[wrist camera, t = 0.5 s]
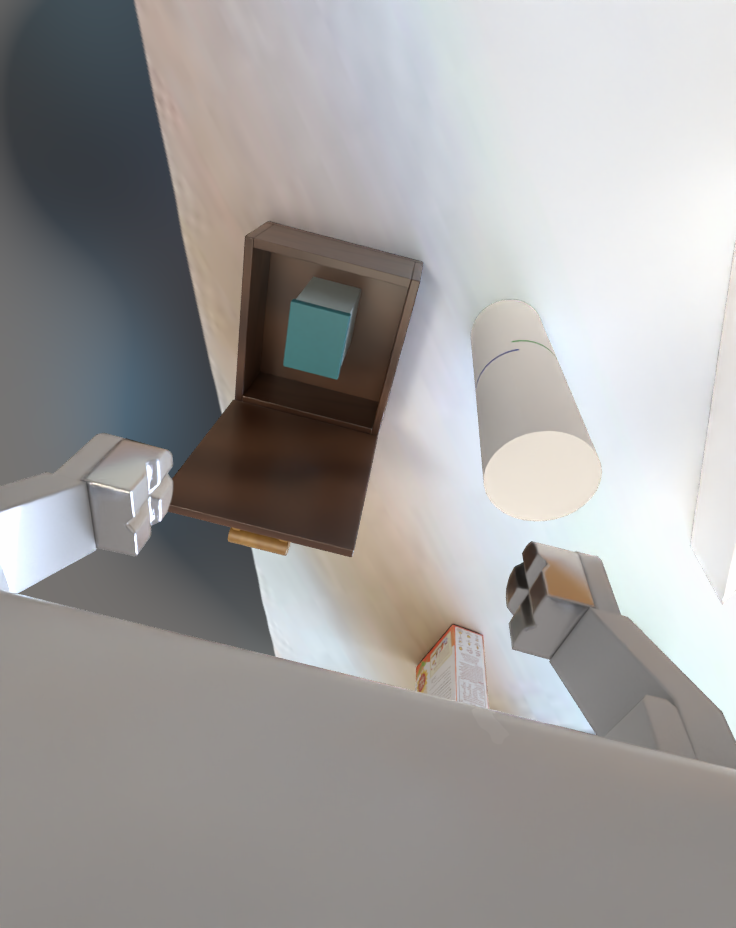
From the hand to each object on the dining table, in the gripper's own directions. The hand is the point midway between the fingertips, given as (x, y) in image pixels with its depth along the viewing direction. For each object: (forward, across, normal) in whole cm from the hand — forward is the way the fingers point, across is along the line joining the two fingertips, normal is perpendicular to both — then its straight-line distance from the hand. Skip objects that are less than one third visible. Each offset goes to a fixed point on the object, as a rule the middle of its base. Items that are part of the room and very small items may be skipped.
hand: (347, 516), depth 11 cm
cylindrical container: (+44, -11, +9) cm, 46 cm away
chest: (+43, +7, +12) cm, 46 cm away
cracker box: (+44, -22, +63) cm, 80 cm away
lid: (+28, +7, +20) cm, 35 cm away
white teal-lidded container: (+43, +7, +11) cm, 44 cm away
